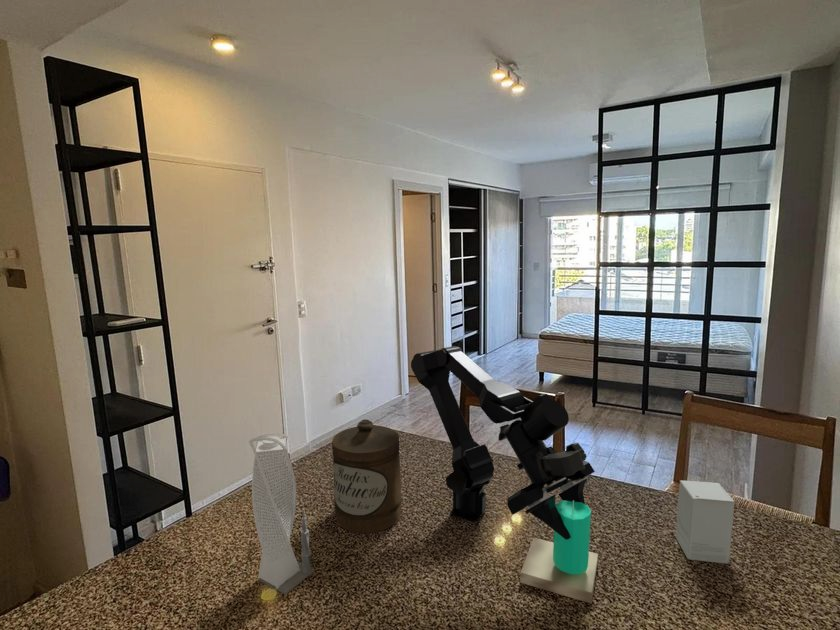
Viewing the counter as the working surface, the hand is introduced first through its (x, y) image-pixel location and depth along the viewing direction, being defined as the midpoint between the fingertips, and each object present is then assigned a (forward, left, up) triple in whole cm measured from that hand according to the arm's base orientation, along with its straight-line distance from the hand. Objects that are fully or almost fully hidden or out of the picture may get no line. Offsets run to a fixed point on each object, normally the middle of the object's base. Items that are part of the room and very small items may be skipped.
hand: (578, 532), depth 83 cm
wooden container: (-45, +4, -10) cm, 46 cm away
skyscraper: (-49, -20, -10) cm, 54 cm away
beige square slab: (-3, +2, -10) cm, 10 cm away
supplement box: (+21, +20, -10) cm, 30 cm away
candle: (-1, +1, -7) cm, 7 cm away
